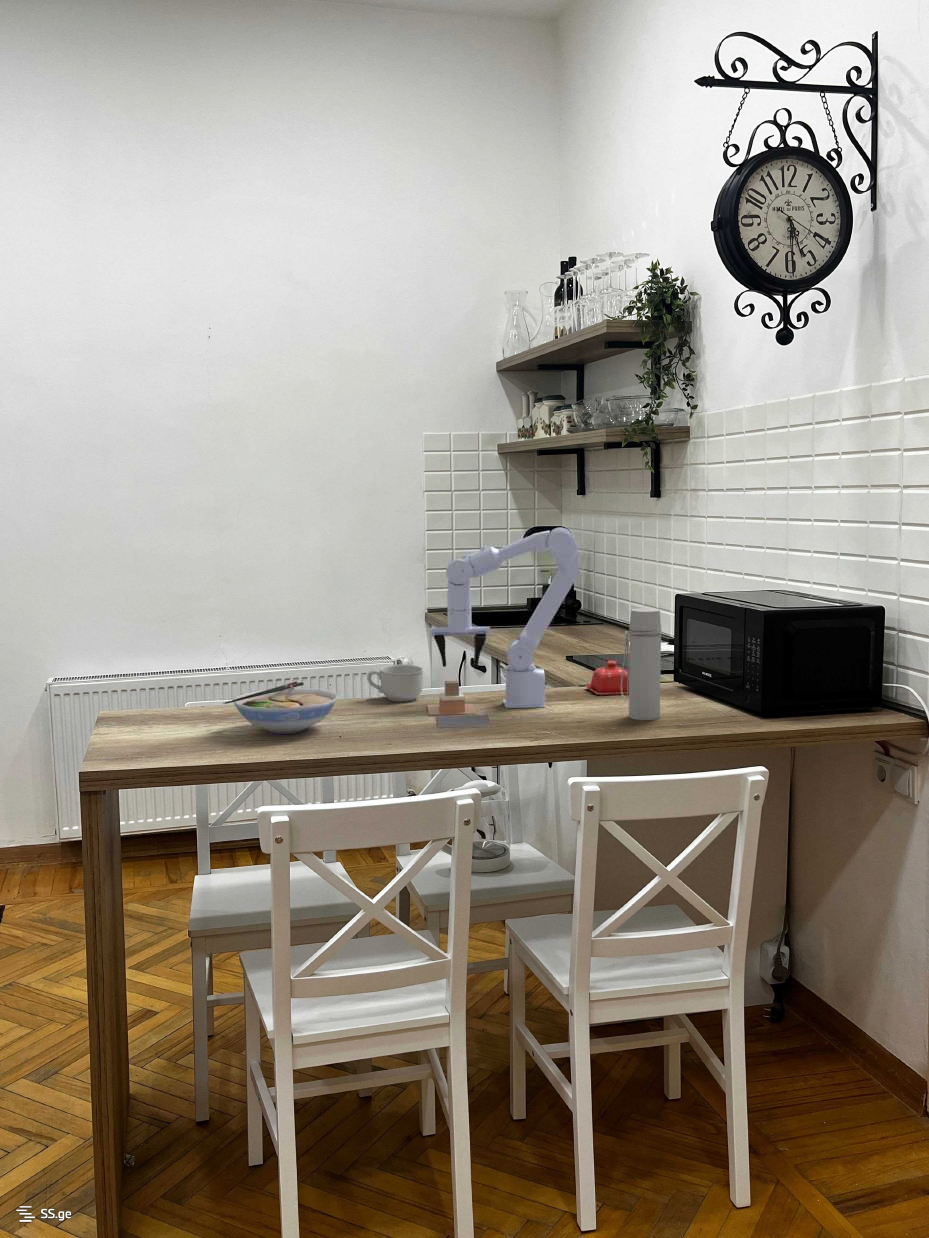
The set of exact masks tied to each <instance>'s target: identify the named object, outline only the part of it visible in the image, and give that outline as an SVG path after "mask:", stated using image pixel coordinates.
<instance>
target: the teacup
mask: <svg viewBox="0 0 929 1238" xmlns="http://www.w3.org/2000/svg"><path fill="white" fill-rule="evenodd" d="M423 673H424V667H421V666H420V665H419V666H418V665H413V664H390V665H386V666H383V667H381V668H380V670H377V669H371V670H370V671H369V672H368V673H367V675H366V681H367V682H368V683H369V685H370V686H371V687H372V688H373V689H376V690H378V692H379V693H380V694H383V695H384V696H385V697H386V698H387V700H390V701H392V702H399V703H400V702H410V701H413V700H416V699H417V698H418V696H420V695H421V693H422V691H423V682H424V674H423ZM373 675H377V676H378V679H379V681H380V685H378V684H376V683H375V682H373V680H372V676H373Z"/></svg>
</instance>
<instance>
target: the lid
mask: <svg viewBox="0 0 929 1238" xmlns="http://www.w3.org/2000/svg"><path fill="white" fill-rule="evenodd" d="M439 694H440V698H441V699H442V701H445V700H465V701H466V699H465V696H466V695H464V693H463V692H462V691H460V683H459V681H458V680H445V681H444V692H439Z"/></svg>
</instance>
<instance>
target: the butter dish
mask: <svg viewBox="0 0 929 1238" xmlns="http://www.w3.org/2000/svg"><path fill="white" fill-rule="evenodd" d="M606 664H607V666H604V667H599V668H596V669H595V670H594V671H593V673H592V677H591V682H590V684H586V685H585V688H587V689H588V690H590V691H591V692H593V693H594V694H596V695H598V696H614V695H615V696H618V695H620V696H621V686H620V685H621V677H622V669H623V667H618V666H617V661H615V660H608V661H607V662H606ZM622 692H623V695H626V694H627V669H624V672H623V681H622ZM628 695H629V693H628Z"/></svg>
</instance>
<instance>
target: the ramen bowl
mask: <svg viewBox="0 0 929 1238" xmlns="http://www.w3.org/2000/svg"><path fill="white" fill-rule="evenodd" d="M300 686H304V682H302V681H300V682H298V681H293V682H289V683H286V684H283V685H279V686H275V687H272V688H269V689H262V690H256V691H255V690H254V691H250V692H246V693H242V694H240V695H237V696H235V697H234V698H233V699H232V700H229V701H226V702H223V703H222V705H223V704H227V705H228V704H231V703H232V704H233V705H234V707H236V708H235V709H236V710H237V711H238V712H239V713H240V715H241V716H242V717H243V718H244V719H245V720H246V721H247V722H248V723H250V724H251V725H253V726H255V727H258V728H259V729H263V730H267V731H269V732H270V733H272V734H279V735H288V734H296V733H301V732H302V731H304V730H306V729H308V728H310V727H312V726H315V725H316V724H318V723H321V722H322V721H323V720H325V718H326V717H327V716H328V715H329V714H330V712H331V710H332V709H333V707H334V706H335V703H336V702H337V698H338V696H339V694H337V693H336V692H334V691H330V690H326V689H322V688H321V689H320V688H308V687H307V688H306V687H300Z"/></svg>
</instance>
